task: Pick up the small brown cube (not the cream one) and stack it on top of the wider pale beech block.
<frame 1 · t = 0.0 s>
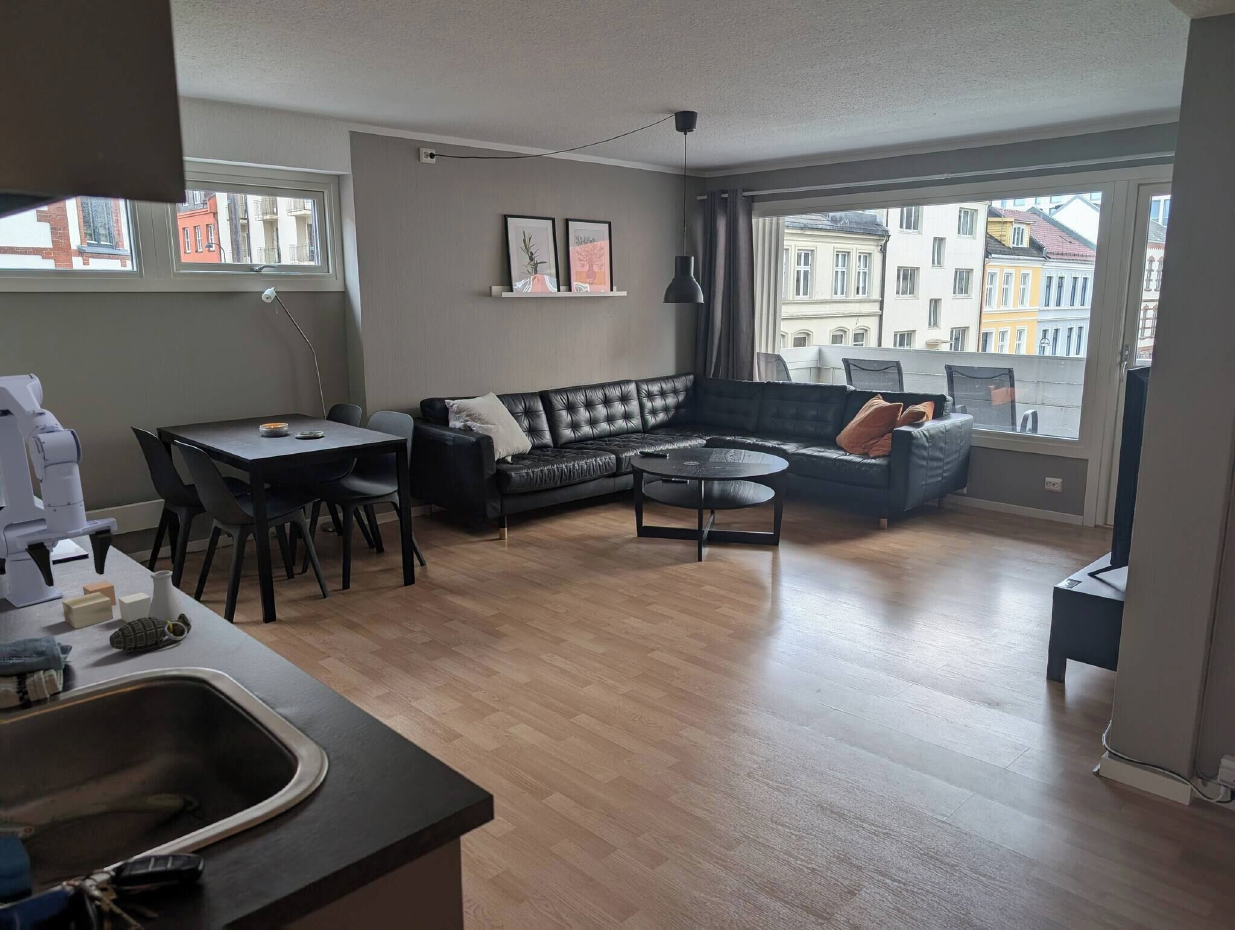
hand: (75, 579, 146), 10 cm above the counter, tool pointing down, fingers open, 7 cm apart
flask: (168, 627, 151), on the counter
cream cube: (137, 618, 155), on the counter
brown cube: (101, 605, 162), on the counter
grenade: (154, 647, 143), on the counter
beech block: (89, 620, 155), on the counter
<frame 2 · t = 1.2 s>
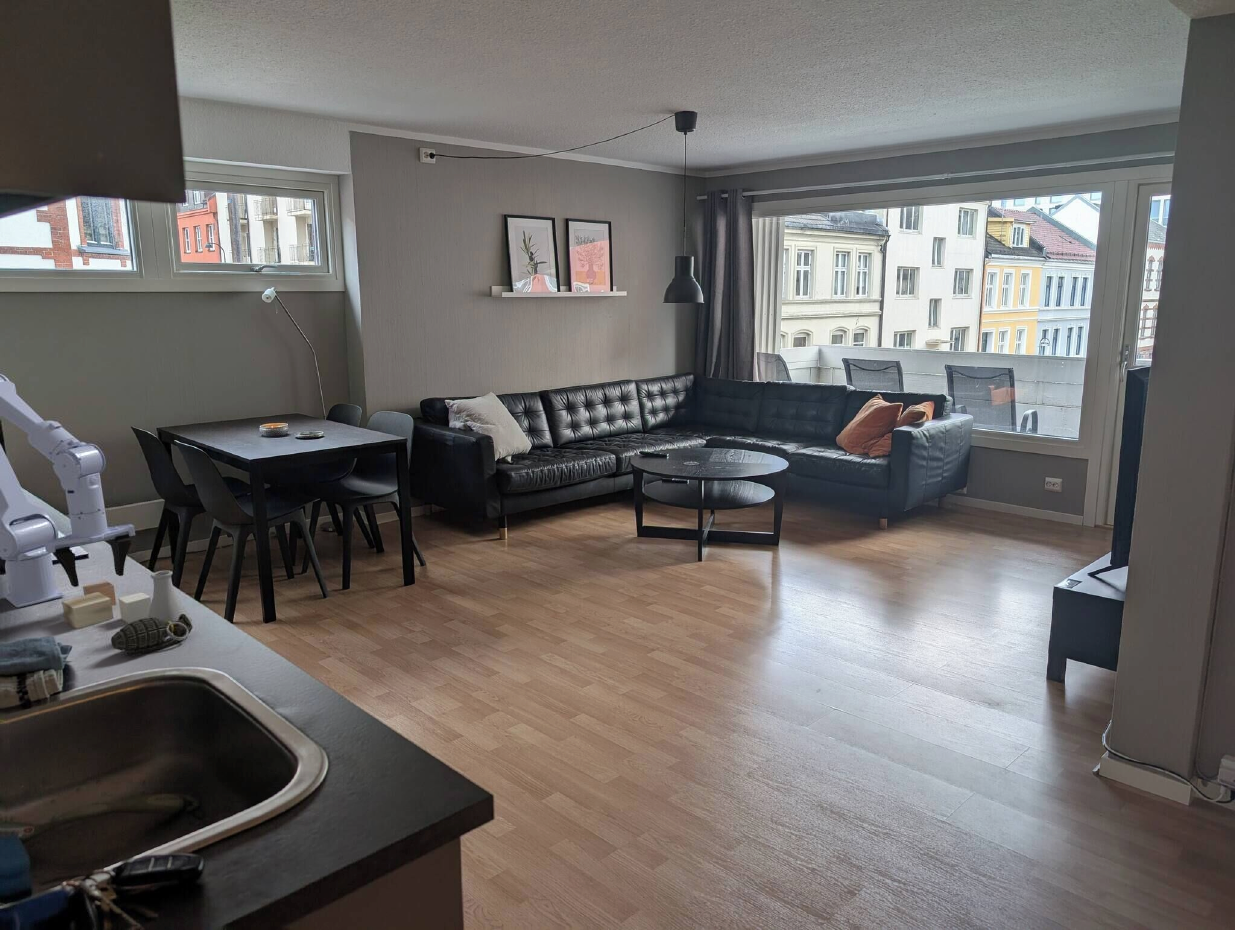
hand: (97, 580, 161), 5 cm above the counter, tool pointing down, fingers open, 7 cm apart
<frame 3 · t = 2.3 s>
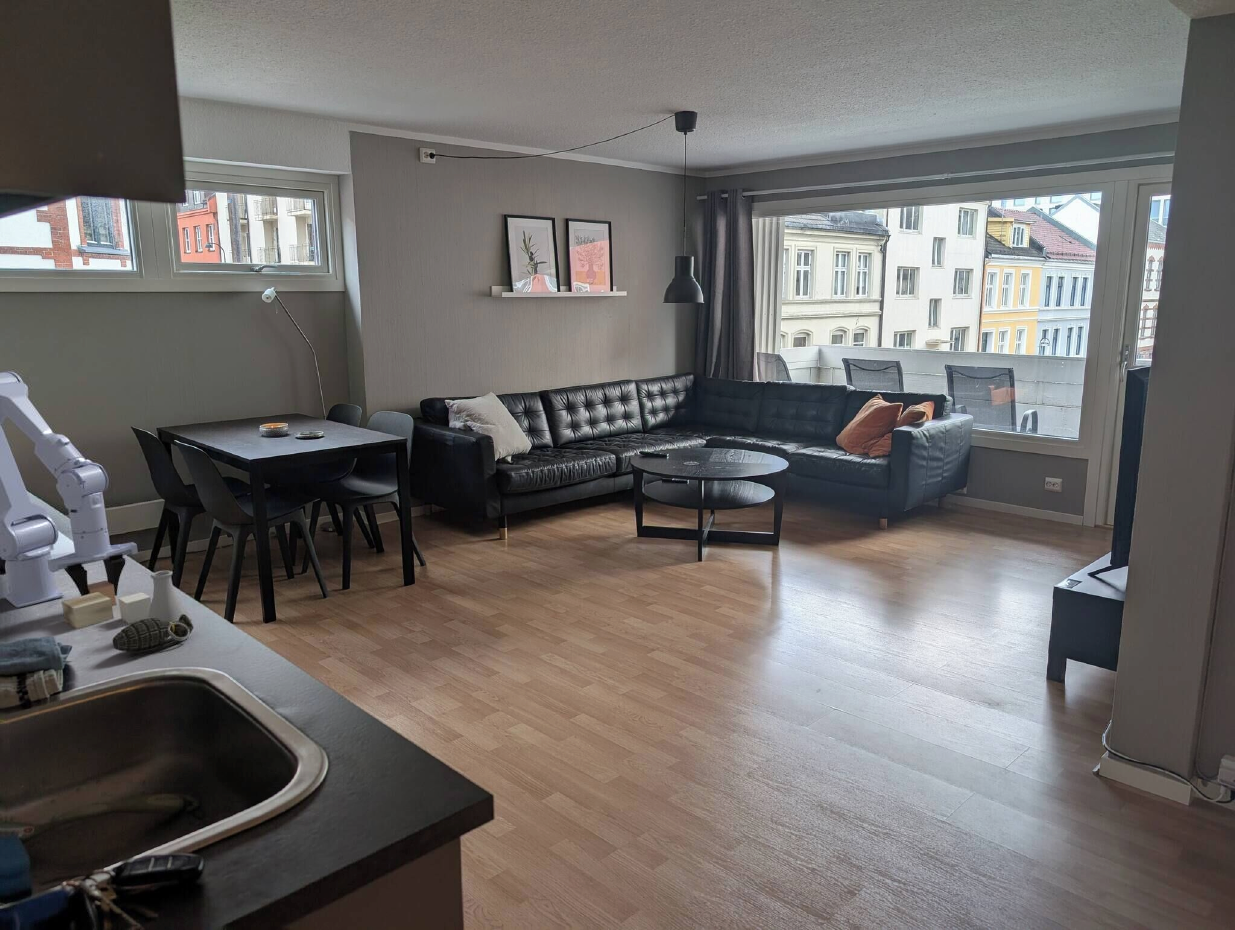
hand: (100, 598, 162), 1 cm above the counter, tool pointing down, fingers closed on brown cube, 4 cm apart
brown cube: (101, 605, 162), on the counter, touching gripper
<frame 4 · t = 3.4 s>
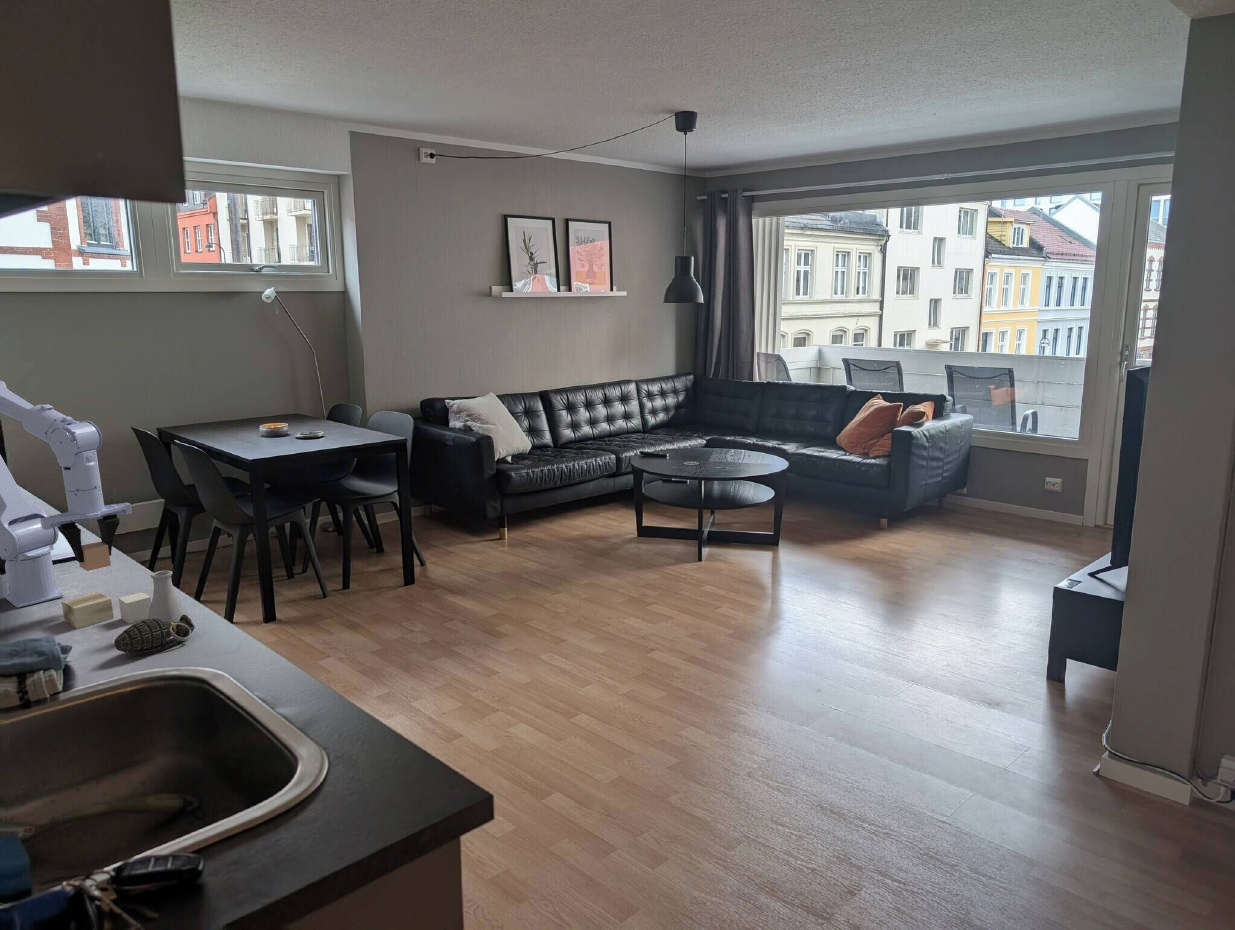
hand: (93, 558, 160), 9 cm above the counter, tool pointing down, fingers closed on brown cube, 4 cm apart
brown cube: (95, 566, 160), point 8 cm above the counter, touching gripper
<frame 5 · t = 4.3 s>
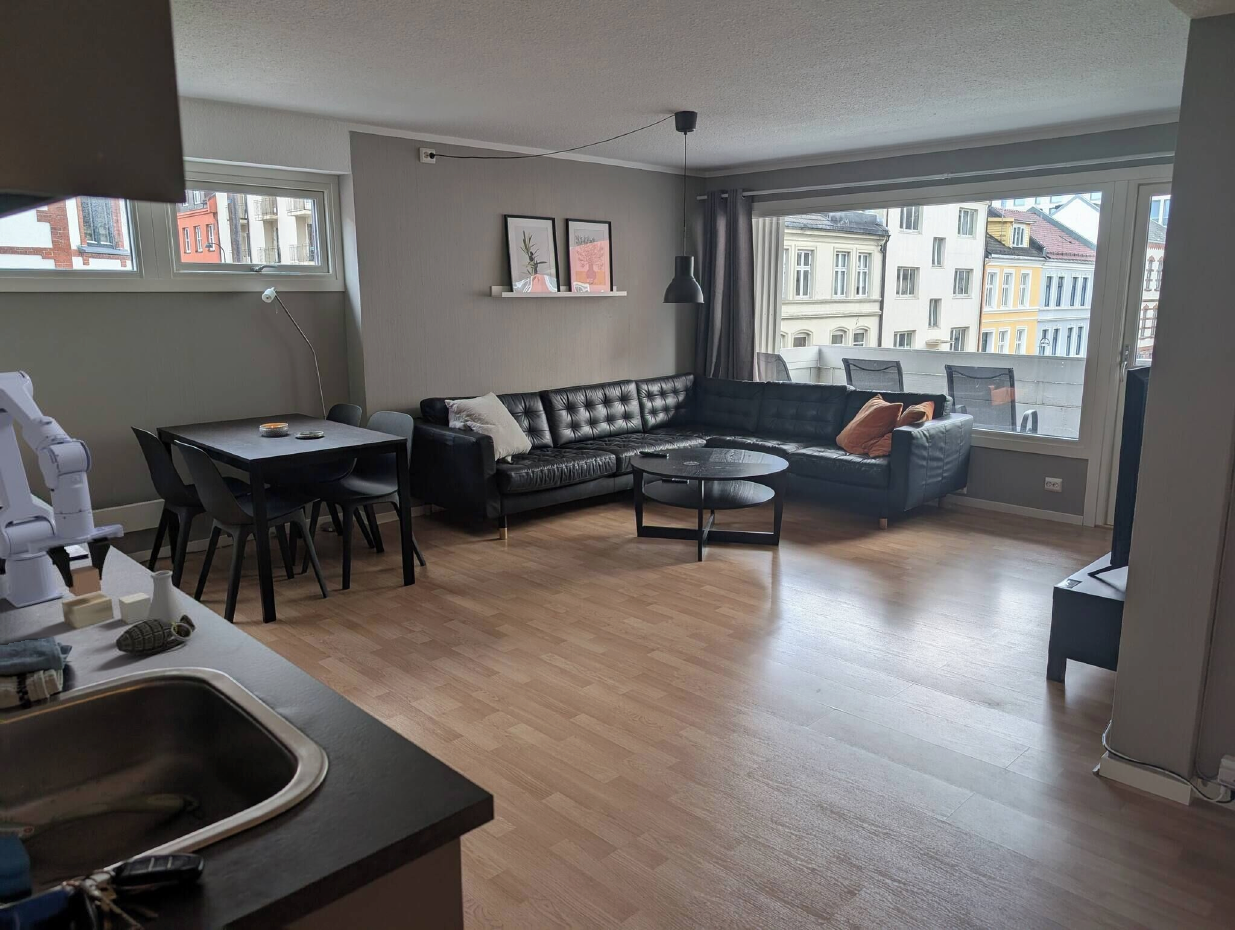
hand: (83, 582, 154), 7 cm above the counter, tool pointing down, fingers closed on brown cube, 4 cm apart
brown cube: (85, 591, 154), point 5 cm above the counter, touching gripper
when the fingers open (7 cm above the counter, at t = 4.7 s): brown cube drops 1 cm, resting on beech block.
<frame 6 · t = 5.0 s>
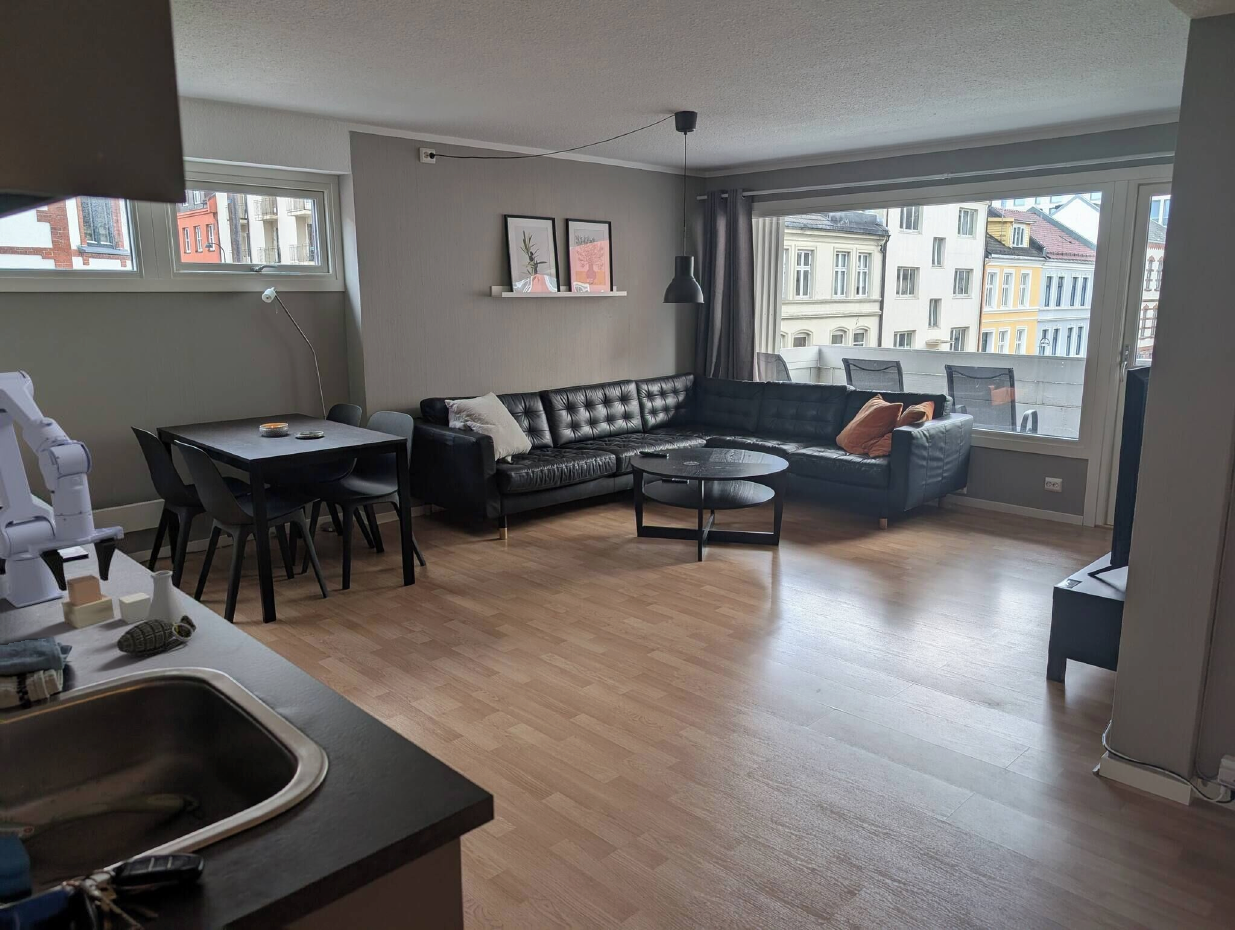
hand: (84, 584, 154), 7 cm above the counter, tool pointing down, fingers open, 6 cm apart
brown cube: (85, 600, 154), point 4 cm above the counter, touching beech block
beech block: (89, 620, 155), on the counter, touching brown cube
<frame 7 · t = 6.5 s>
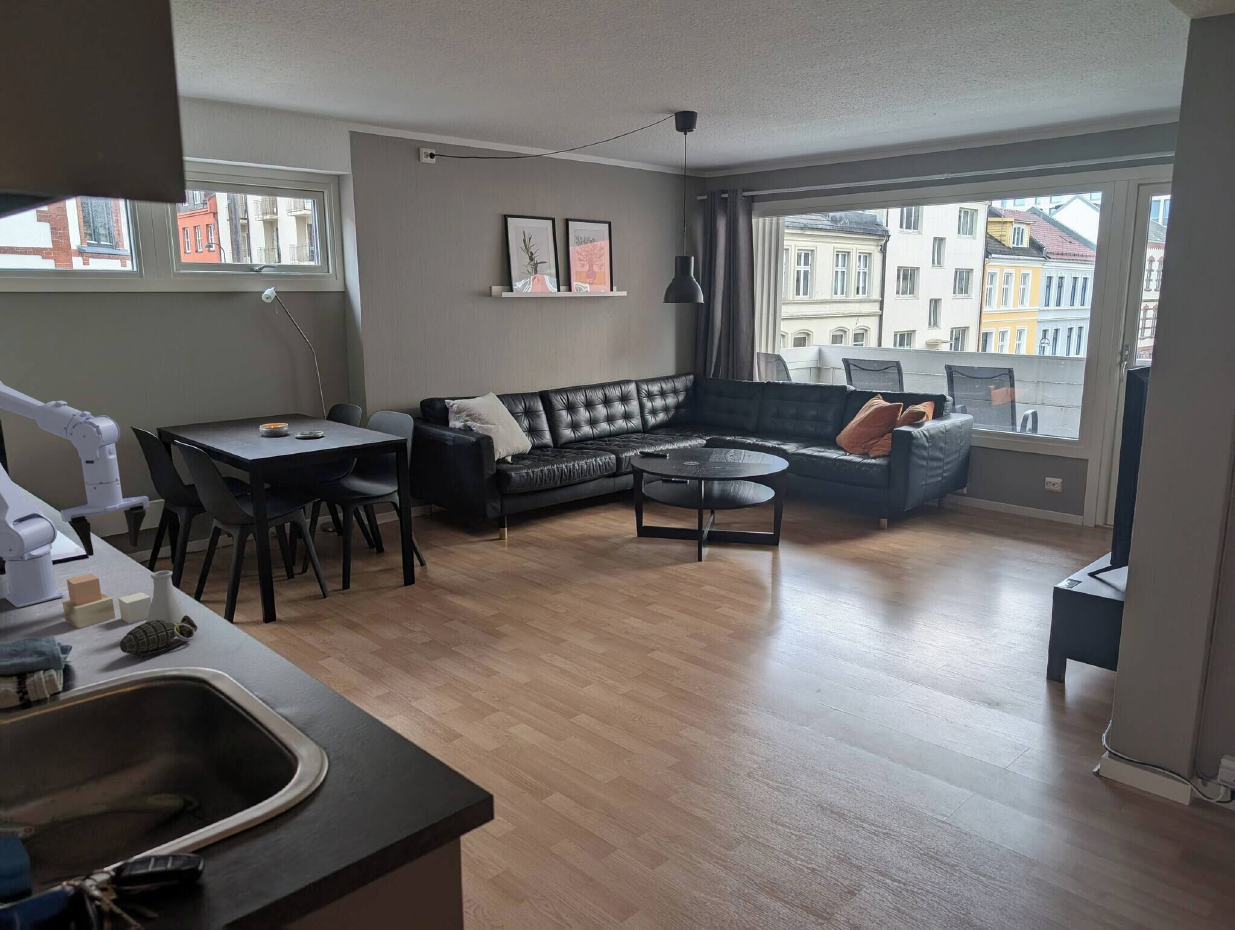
hand: (112, 550, 163), 10 cm above the counter, tool pointing down, fingers open, 7 cm apart
brown cube: (85, 599, 154), point 4 cm above the counter
beech block: (90, 620, 155), on the counter
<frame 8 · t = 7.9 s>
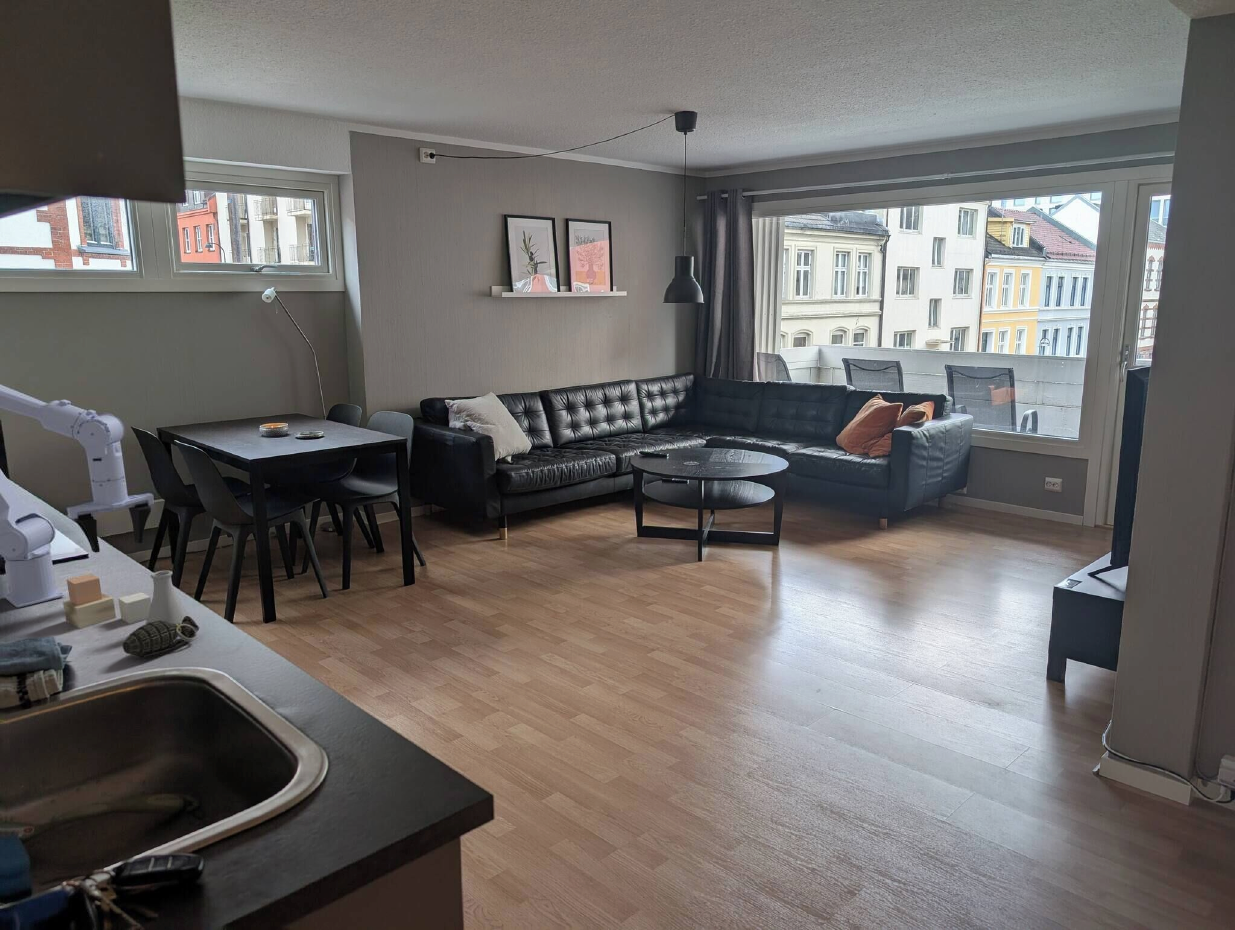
hand: (117, 546, 165), 10 cm above the counter, tool pointing down, fingers open, 7 cm apart
brown cube: (86, 599, 154), point 4 cm above the counter, touching beech block
beech block: (91, 620, 155), on the counter, touching brown cube
at the end: brown cube 0.6 cm off-centre on the beech block, point 4.0 cm above the beech block's base; brown cube tilted 0°; the gripper is holding nothing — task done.
